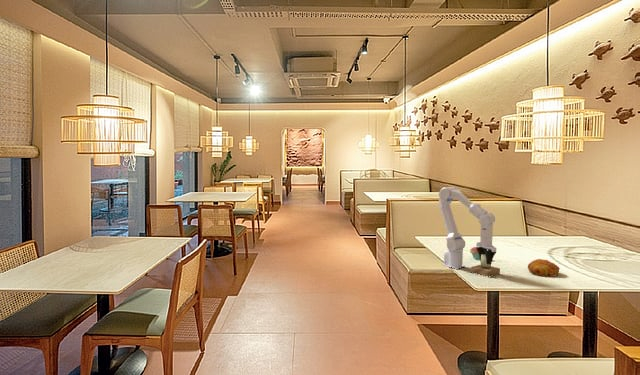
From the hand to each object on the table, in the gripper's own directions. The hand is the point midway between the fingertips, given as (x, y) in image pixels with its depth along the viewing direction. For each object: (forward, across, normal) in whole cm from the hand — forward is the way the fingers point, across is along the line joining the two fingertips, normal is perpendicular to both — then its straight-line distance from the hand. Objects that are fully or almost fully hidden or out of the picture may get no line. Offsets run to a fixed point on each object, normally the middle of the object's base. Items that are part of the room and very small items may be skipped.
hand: (485, 262), depth 216 cm
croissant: (+6, +6, +30) cm, 31 cm away
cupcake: (+6, -29, +14) cm, 32 cm away
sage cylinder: (+2, 0, 0) cm, 2 cm away
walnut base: (+6, 0, 0) cm, 6 cm away
